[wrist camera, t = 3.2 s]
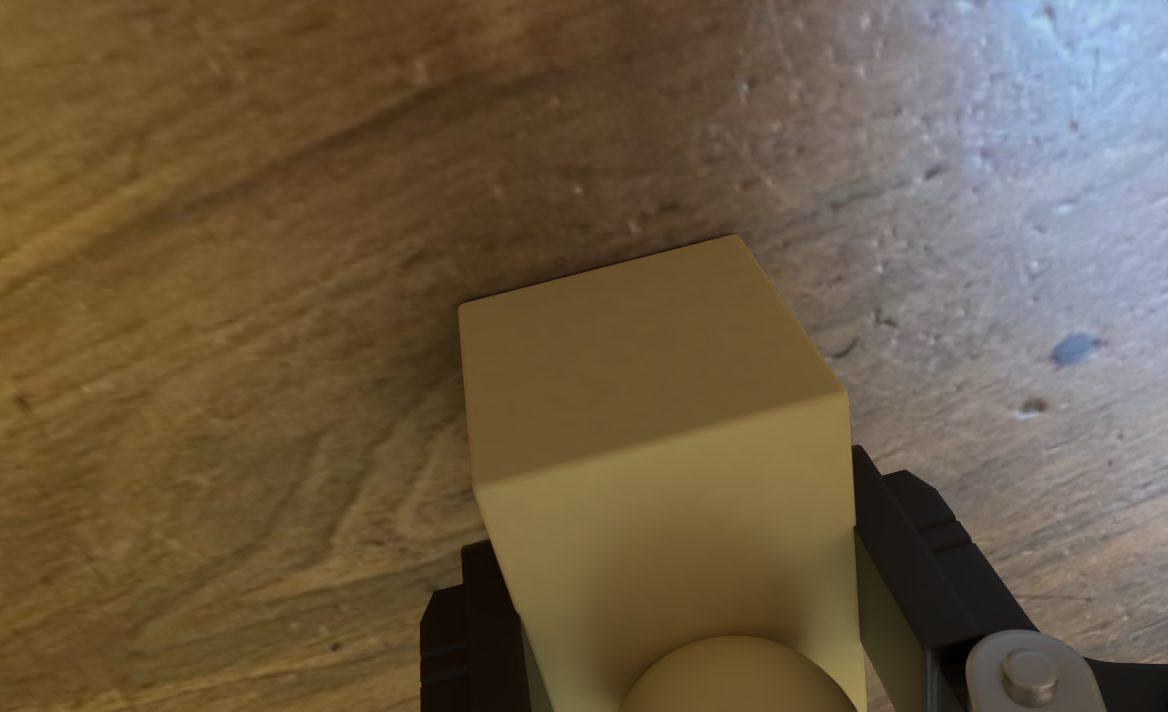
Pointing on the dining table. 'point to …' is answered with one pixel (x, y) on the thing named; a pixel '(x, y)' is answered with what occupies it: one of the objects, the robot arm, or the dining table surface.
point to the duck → (668, 487)
